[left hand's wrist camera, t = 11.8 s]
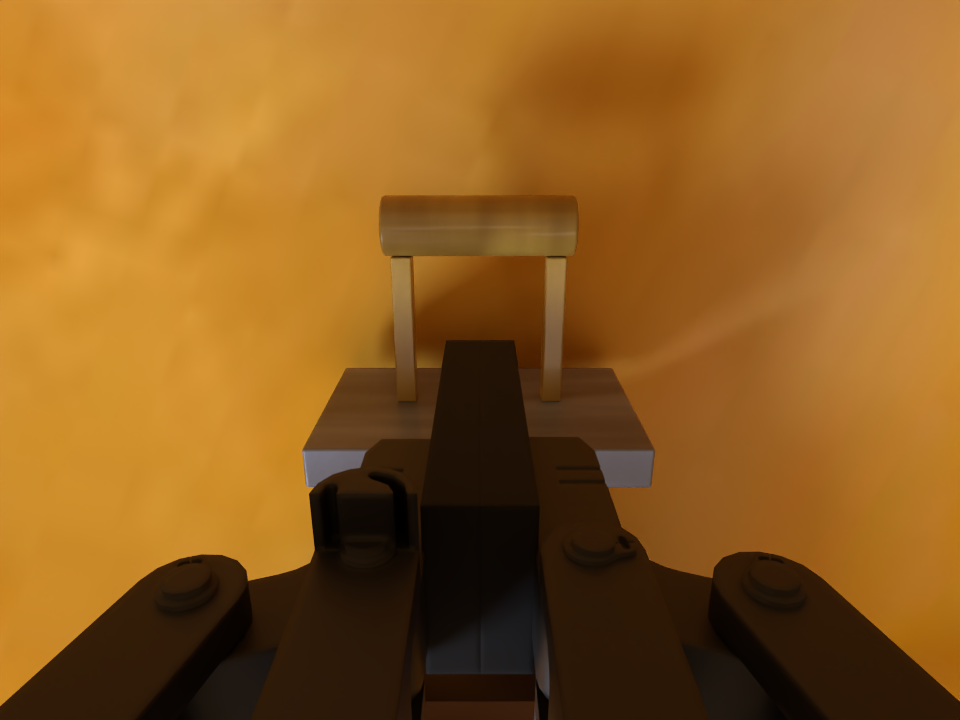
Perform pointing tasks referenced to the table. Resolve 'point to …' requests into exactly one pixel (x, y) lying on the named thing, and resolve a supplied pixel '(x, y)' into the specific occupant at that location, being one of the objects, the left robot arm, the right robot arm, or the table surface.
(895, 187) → the table surface
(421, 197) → the drawer
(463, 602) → the left robot arm
